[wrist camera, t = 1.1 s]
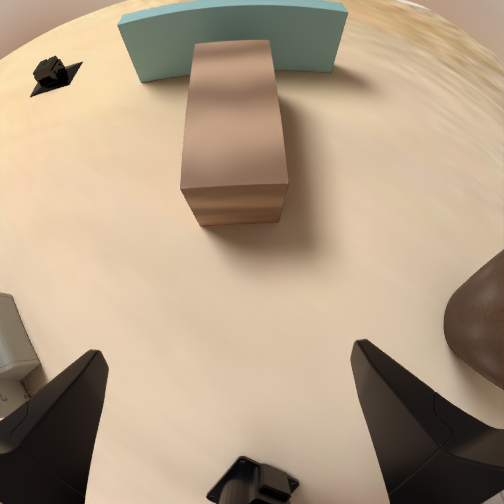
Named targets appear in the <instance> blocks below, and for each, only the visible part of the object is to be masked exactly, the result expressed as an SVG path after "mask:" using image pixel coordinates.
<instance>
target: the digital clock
mask: <svg viewBox="0 0 504 504" xmlns="http://www.w3.org/2000/svg"><path fill="white" fill-rule="evenodd" d="M39 364H40V362H39V360H38V358H37V356H36V354H35V352H34V350H33V347H32V345H31V343H30V341H29V339H28V336H27V334H26V332H25V329H24V327H23V324H22V322H21V319H20V317H19V314H18V312H17V309H16V306H15V304H14V301H13V298H12V295H10V294H5V293H0V418H4V417H7V416H8V415H9V414H11V413H12V412H13V411H15V410H16V409H17V408H18V407H20V406H21V405H22V404H23V403H25V402H26V401H27V400H29V397H28V395H27V393H26V391H25V389H24V387H23V385H22V383H21V380H22V379H24V378H25V377H26V376H27V375H28V374H29V373H30V372H31V371H33V370H34V369H35V368H36V367H37V366H38V365H39Z"/></svg>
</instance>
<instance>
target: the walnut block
mask: <svg viewBox="0 0 504 504" xmlns="http://www.w3.org/2000/svg"><path fill="white" fill-rule="evenodd" d="M288 184H289V181H288V172H287V163H286V155H285V146H284V138H283V130H282V122H281V115H280V108H279V100H278V93H277V86H276V80H275V73H274V67H273V60H272V54H271V48H270V42H269V40H238V41H221V42H209V43H200V44H195V48H194V54H193V61H192V68H191V75H190V83H189V91H188V100H187V109H186V119H185V129H184V140H183V153H182V167H181V184H180V189H181V191H182V193H183V195H184V197H185V199H186V201H187V203H188V205H189V206H190V208H191V210H192V212H193V214H194V216H195V218H196V220H197V221H198V223H199V225H200V226H208V225H227V224H249V223H273V222H279V218H280V214H281V210H282V207H283V203H284V199H285V196H286V192H287V188H288Z"/></svg>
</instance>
